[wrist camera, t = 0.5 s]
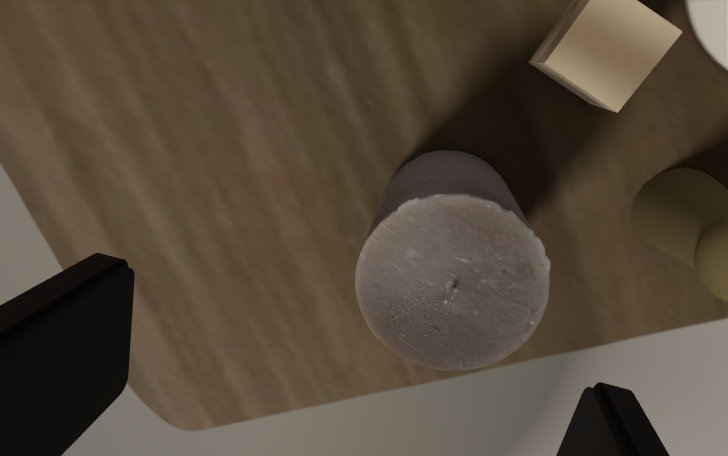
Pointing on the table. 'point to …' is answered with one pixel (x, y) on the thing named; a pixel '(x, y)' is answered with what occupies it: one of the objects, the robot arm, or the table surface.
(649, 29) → the beech block
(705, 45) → the plate
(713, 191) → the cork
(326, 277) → the table surface
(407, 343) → the pillar candle
